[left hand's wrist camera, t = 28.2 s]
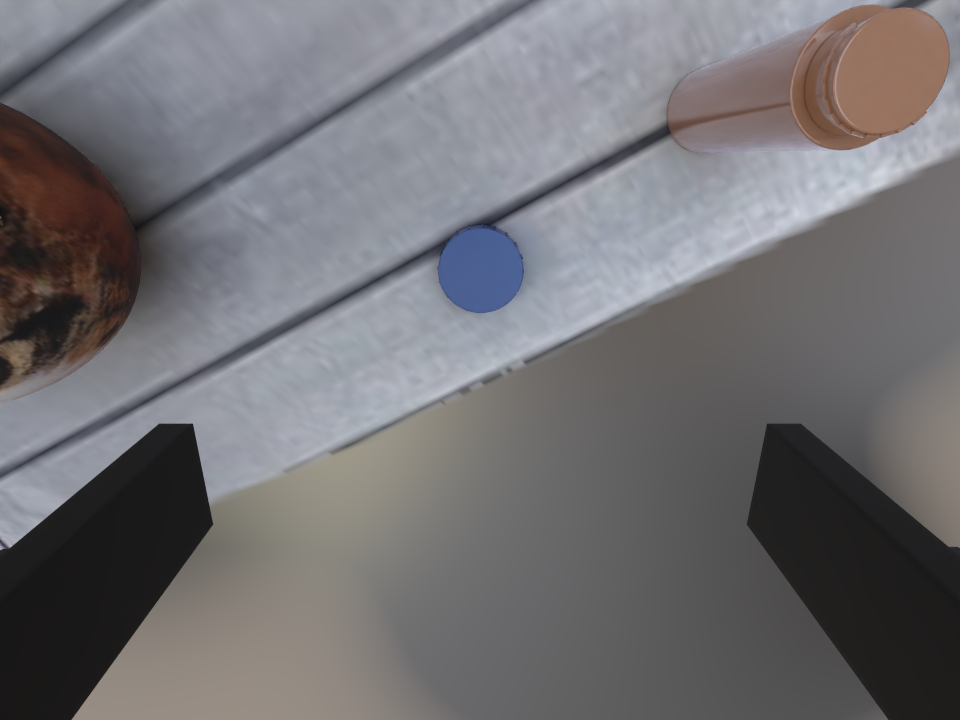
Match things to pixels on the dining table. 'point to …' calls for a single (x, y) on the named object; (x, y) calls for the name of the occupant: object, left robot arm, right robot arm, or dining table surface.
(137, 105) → the dining table surface
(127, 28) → the dining table surface
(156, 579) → the left robot arm
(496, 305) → the lid
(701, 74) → the jar
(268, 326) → the dining table surface
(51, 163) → the brown and white balloon
